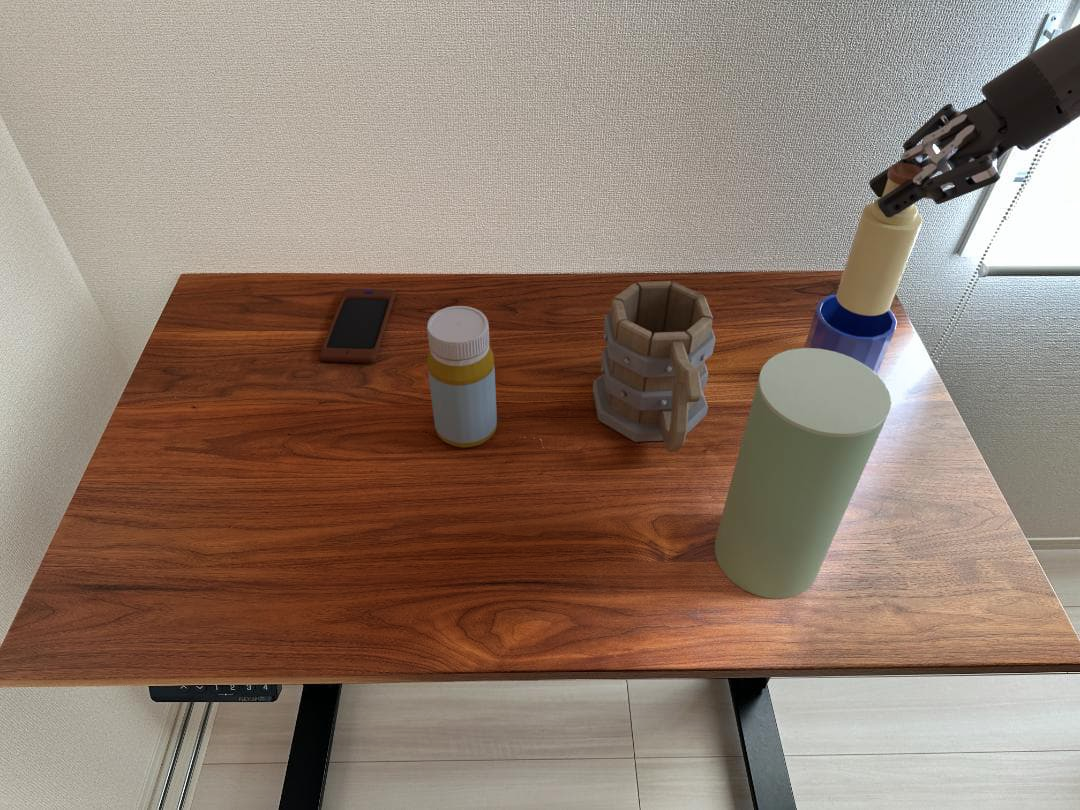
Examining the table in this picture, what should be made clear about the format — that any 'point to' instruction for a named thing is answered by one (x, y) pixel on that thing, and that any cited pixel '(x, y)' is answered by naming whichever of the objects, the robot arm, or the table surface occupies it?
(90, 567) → the table surface
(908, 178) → the cream bottle
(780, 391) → the green stand
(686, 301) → the tankard
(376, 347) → the smartphone
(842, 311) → the blue cup
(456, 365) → the bottle
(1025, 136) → the robot arm
